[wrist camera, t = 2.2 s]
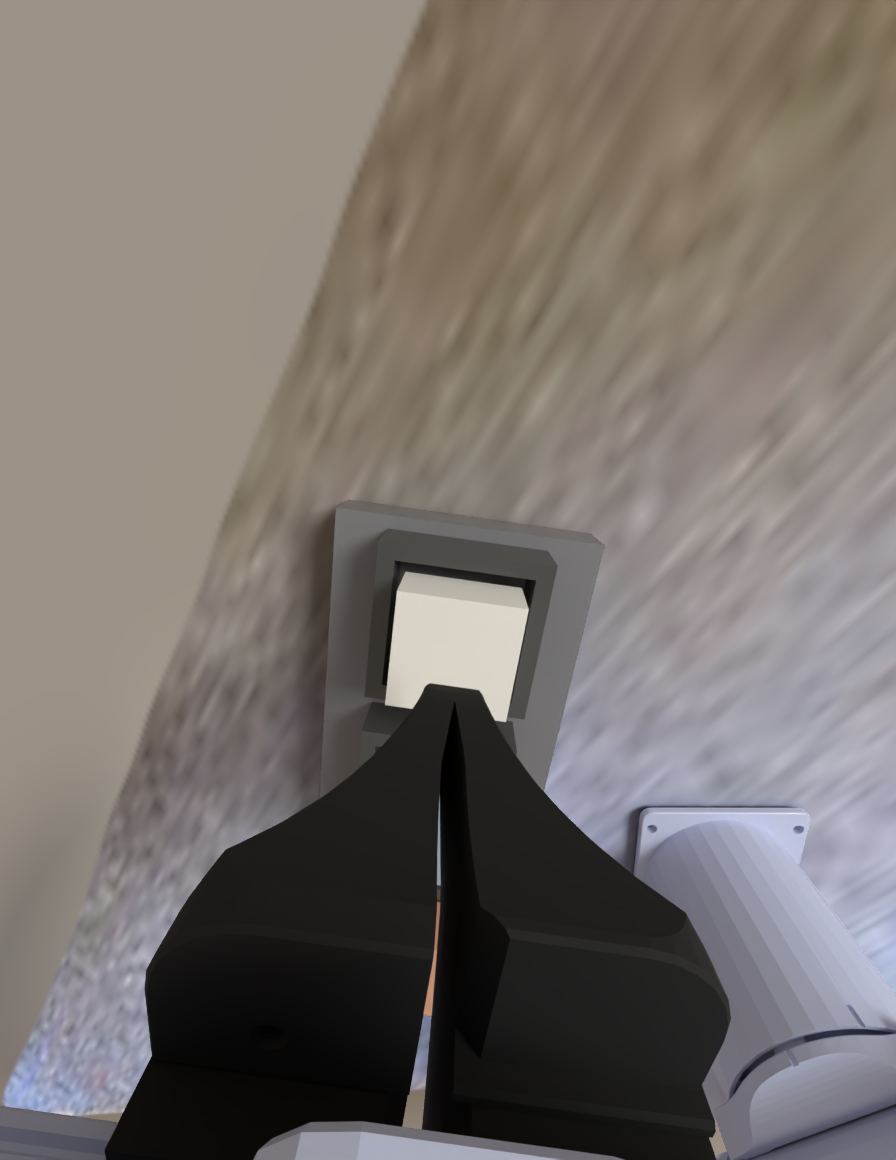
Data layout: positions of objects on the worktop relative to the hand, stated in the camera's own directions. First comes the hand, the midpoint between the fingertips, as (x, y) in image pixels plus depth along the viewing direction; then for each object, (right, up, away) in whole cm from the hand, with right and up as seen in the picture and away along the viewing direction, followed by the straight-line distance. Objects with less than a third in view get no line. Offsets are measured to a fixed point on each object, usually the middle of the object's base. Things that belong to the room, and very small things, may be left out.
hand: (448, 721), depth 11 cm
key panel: (-1, -4, +11) cm, 12 cm away
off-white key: (0, +2, +5) cm, 5 cm away
